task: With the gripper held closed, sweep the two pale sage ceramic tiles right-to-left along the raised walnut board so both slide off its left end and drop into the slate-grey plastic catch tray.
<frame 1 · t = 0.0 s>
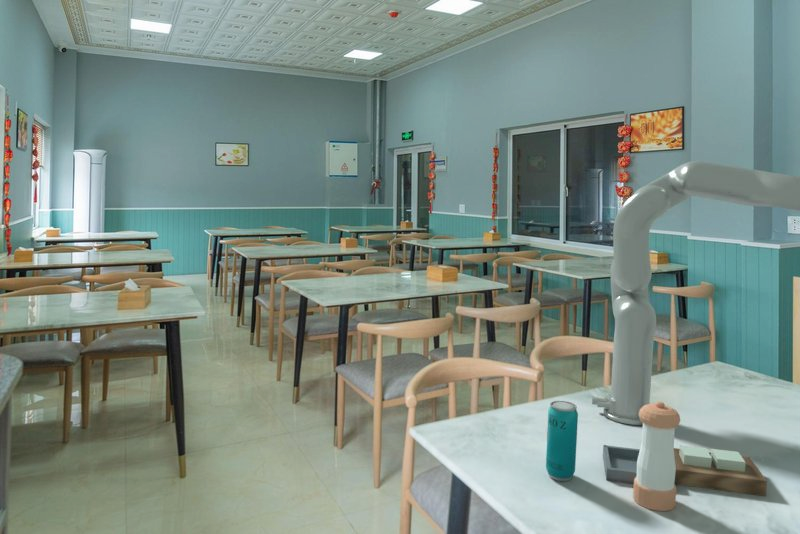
tile a: (727, 464, 117), point 3 cm above the table, touching board
beverage can: (560, 477, 118), on the table
catch tray: (636, 471, 120), on the table
salt shaker: (653, 502, 108), on the table
board: (712, 477, 118), on the table
tile b: (694, 460, 119), point 3 cm above the table, touching board
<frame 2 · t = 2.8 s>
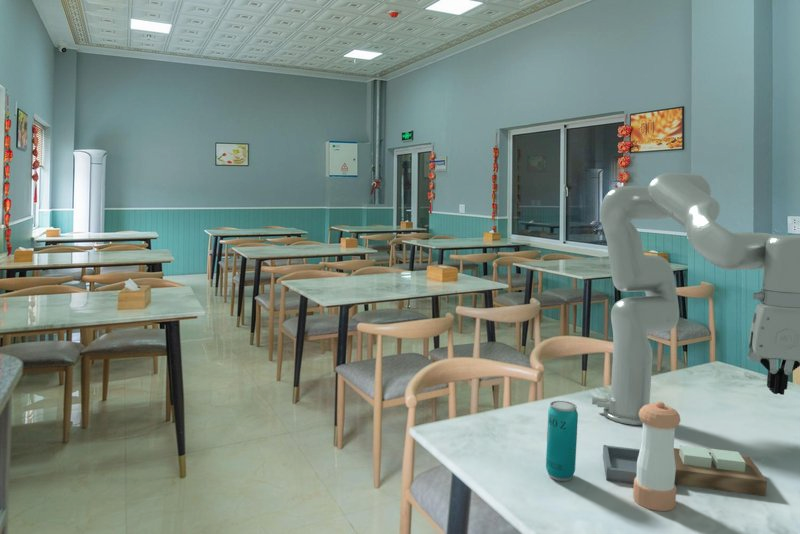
hand: (776, 392, 113), 19 cm above the table, fingers closed
nothing on the table moved.
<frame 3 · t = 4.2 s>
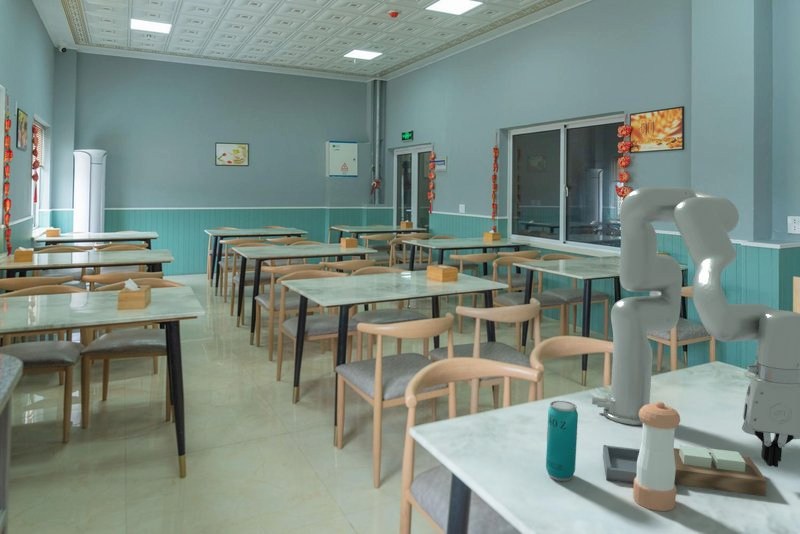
hand: (770, 463, 115), 4 cm above the table, fingers closed
nothing on the table moved.
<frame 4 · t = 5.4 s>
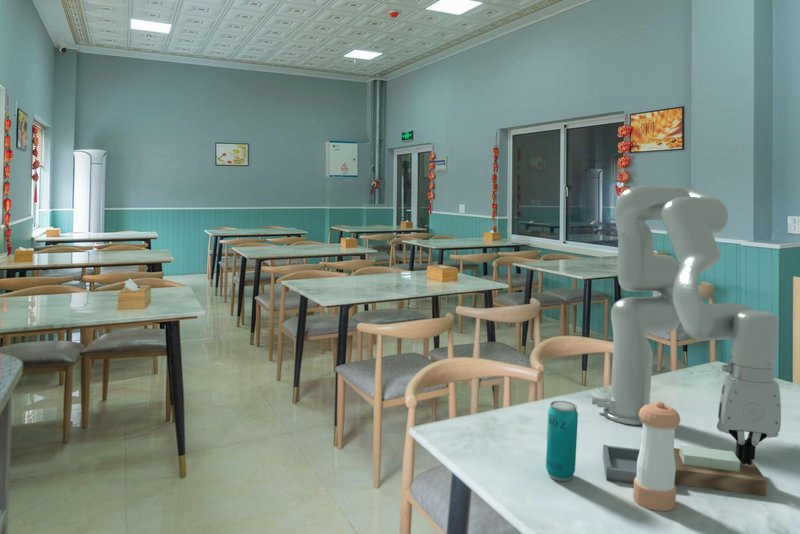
hand: (744, 461, 116), 4 cm above the table, fingers closed
tile a: (722, 464, 117), point 3 cm above the table, touching board, gripper
everything else where it was.
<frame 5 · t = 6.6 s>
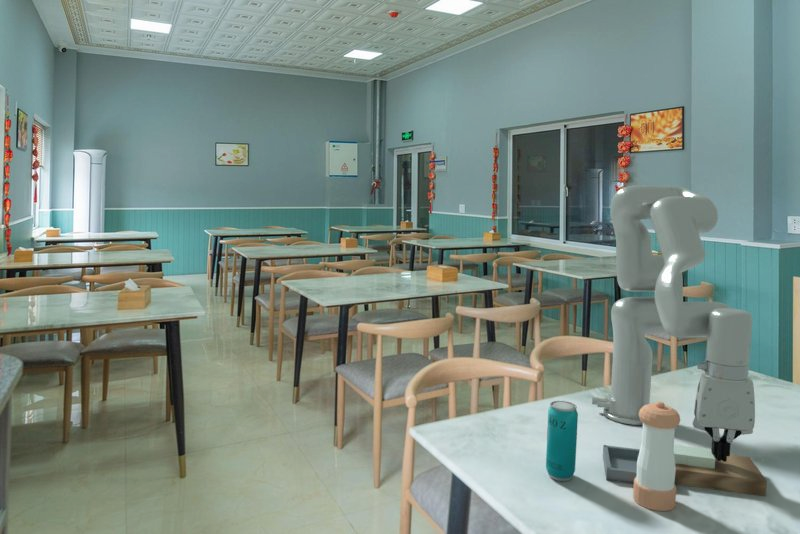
hand: (719, 458, 117), 4 cm above the table, fingers closed
tile a: (698, 461, 118), point 3 cm above the table, touching gripper, tile b
tile b: (671, 457, 120), point 3 cm above the table, touching board, tile a
everything else where it was.
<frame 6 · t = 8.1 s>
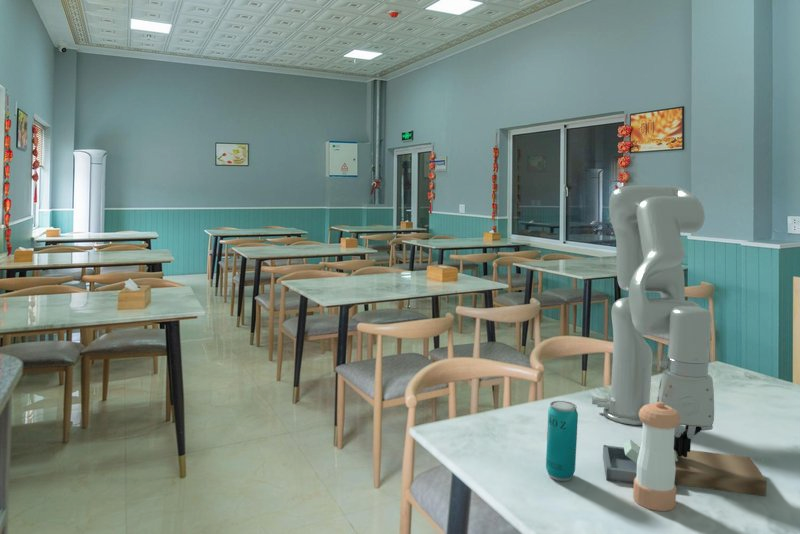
hand: (681, 453, 119), 4 cm above the table, fingers closed
tile a: (663, 458, 120), point 3 cm above the table, tilted 23°, touching gripper
tile b: (640, 451, 121), point 4 cm above the table, tilted 145°
everything else where it was.
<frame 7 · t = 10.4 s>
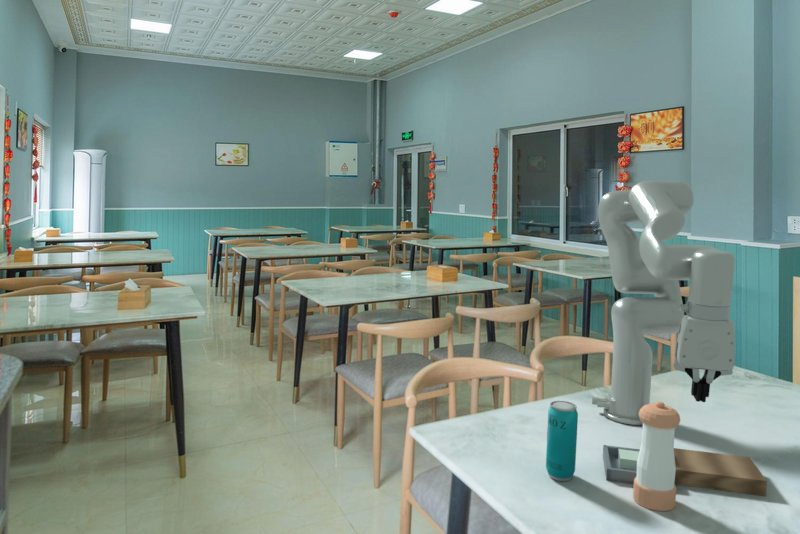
hand: (699, 399, 118), 16 cm above the table, fingers closed
tile a: (662, 461, 120), point 2 cm above the table, tilted 38°, touching catch tray
tile b: (631, 455, 122), point 2 cm above the table, tilted 180°, touching catch tray
everything else where it was.
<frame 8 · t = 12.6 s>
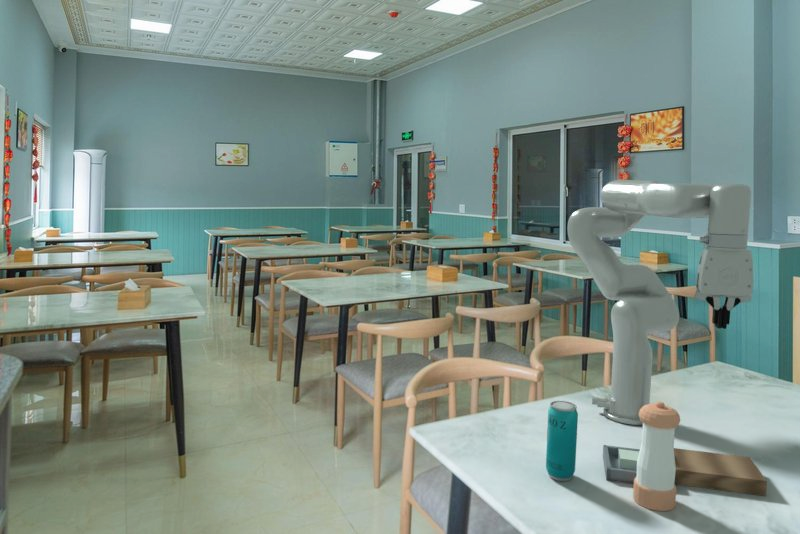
hand: (720, 327, 125), 29 cm above the table, fingers closed
nothing on the table moved.
at the end: tile a inside the target area on the catch tray (5.3 cm from its centre), point 2.0 cm above the catch tray's base; tile b inside the target area on the catch tray (2.2 cm from its centre), point 2.5 cm above the catch tray's base; tile a touching catch tray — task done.
